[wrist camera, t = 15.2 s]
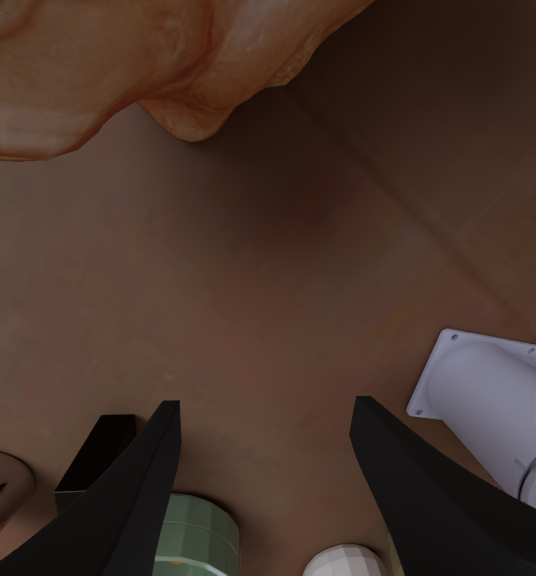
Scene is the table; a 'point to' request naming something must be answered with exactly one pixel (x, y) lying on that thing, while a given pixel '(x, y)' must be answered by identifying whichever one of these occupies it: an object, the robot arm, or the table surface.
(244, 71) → the frog figurine
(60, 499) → the ladle
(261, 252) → the table surface
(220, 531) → the soup bowl
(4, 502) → the beer glass
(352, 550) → the cup
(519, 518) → the robot arm
